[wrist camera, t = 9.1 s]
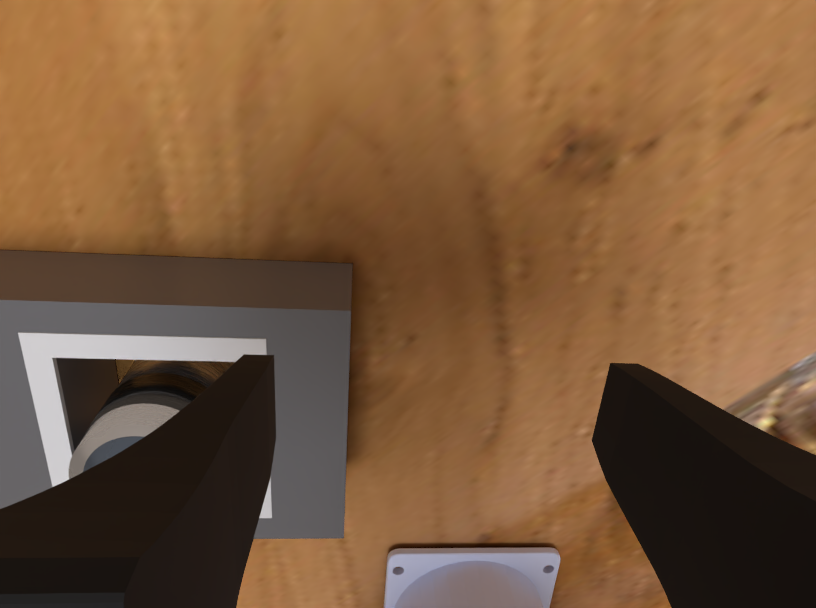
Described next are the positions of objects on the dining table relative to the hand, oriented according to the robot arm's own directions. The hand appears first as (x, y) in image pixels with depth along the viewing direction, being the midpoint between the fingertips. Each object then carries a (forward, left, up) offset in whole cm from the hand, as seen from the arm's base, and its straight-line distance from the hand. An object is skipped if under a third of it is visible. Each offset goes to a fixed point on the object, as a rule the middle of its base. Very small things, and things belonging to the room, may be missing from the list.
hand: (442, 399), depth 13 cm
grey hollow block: (-5, +8, -9) cm, 13 cm away
